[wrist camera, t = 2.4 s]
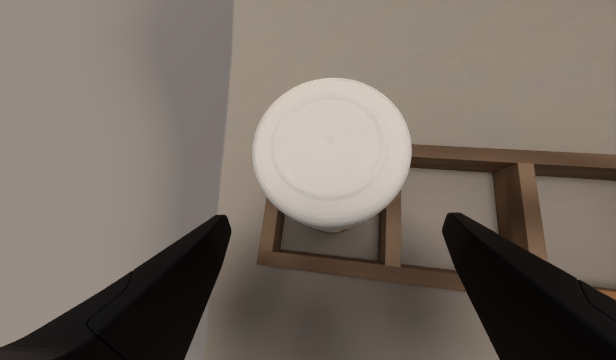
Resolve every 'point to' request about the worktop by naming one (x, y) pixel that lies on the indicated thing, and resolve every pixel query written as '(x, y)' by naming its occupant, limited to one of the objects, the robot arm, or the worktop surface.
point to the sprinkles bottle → (331, 153)
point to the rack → (501, 162)
